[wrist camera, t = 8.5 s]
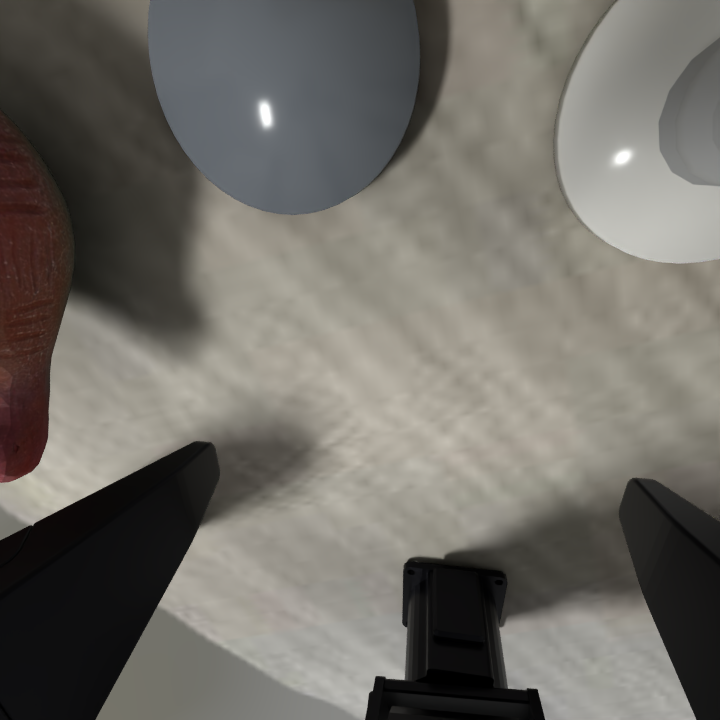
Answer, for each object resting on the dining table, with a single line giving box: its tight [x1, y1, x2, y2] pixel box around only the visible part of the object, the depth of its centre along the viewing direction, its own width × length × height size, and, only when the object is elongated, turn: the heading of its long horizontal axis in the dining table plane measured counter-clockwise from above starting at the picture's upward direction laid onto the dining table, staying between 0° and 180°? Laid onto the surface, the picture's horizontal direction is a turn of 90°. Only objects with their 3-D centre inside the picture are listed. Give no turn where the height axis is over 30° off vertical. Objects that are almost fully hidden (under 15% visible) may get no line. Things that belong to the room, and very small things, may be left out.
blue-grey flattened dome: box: [148, 0, 420, 215], centre depth 15 cm, size 10×10×1 cm
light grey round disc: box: [553, 0, 720, 263], centre depth 14 cm, size 10×10×1 cm
